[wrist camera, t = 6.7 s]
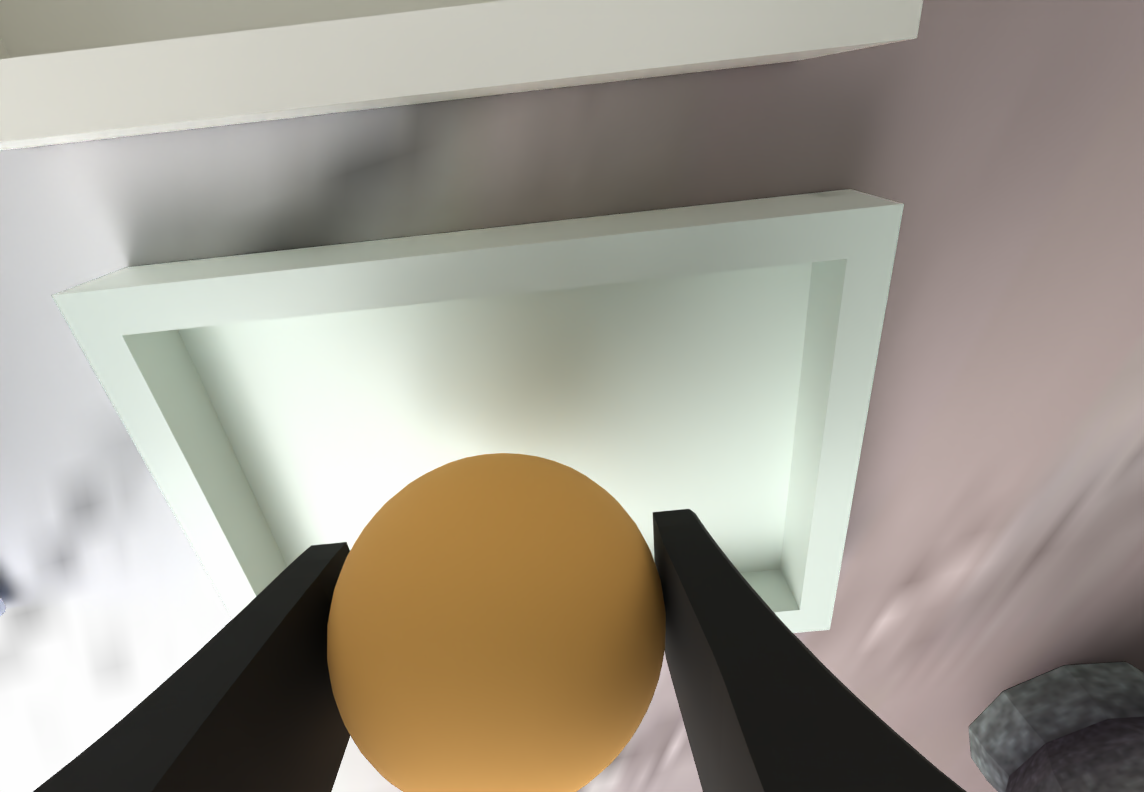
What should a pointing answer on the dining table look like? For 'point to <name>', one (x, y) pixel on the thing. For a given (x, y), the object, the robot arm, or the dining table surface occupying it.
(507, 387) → the tray
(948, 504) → the dining table surface
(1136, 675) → the mortar and pestle
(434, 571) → the ball
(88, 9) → the cream open box
